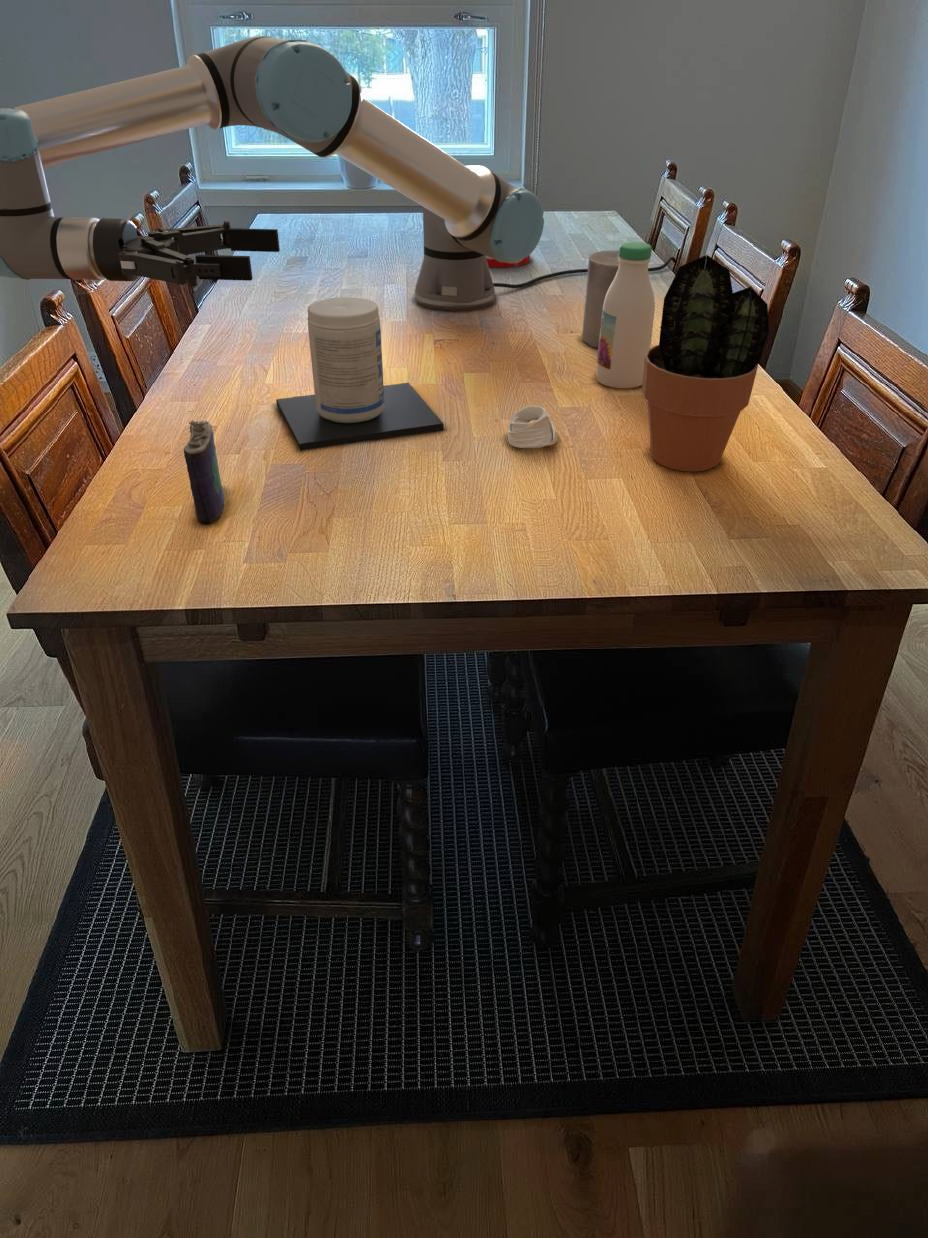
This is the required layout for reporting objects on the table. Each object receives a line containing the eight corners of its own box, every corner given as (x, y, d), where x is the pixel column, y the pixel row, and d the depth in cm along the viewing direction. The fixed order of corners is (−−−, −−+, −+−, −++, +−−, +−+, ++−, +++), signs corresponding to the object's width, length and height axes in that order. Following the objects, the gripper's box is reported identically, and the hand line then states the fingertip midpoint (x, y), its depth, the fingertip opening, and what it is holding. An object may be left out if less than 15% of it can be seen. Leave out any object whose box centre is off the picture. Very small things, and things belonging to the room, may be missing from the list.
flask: (202, 488, 111) (188, 405, 105) (227, 487, 111) (214, 404, 105) (195, 526, 104) (179, 439, 97) (221, 525, 104) (207, 437, 98)
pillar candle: (645, 336, 158) (656, 245, 150) (628, 353, 151) (639, 259, 142) (591, 328, 162) (599, 238, 153) (573, 345, 154) (580, 252, 146)
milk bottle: (649, 375, 143) (667, 240, 132) (640, 392, 137) (658, 253, 126) (601, 368, 145) (614, 236, 134) (590, 385, 139) (603, 248, 128)
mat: (408, 388, 138) (408, 382, 137) (443, 430, 126) (443, 423, 125) (276, 405, 132) (275, 399, 132) (299, 450, 120) (299, 443, 119)
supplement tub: (397, 416, 127) (393, 309, 118) (335, 431, 123) (327, 321, 114) (363, 393, 133) (358, 290, 125) (304, 407, 129) (294, 301, 121)
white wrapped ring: (562, 458, 121) (568, 425, 118) (512, 457, 119) (518, 423, 116) (547, 429, 127) (553, 397, 124) (500, 428, 125) (505, 395, 122)
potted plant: (676, 489, 112) (709, 279, 97) (611, 447, 122) (633, 250, 107) (761, 467, 117) (805, 264, 103) (693, 428, 127) (724, 238, 112)
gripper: (144, 254, 130) (290, 258, 129) (68, 308, 110) (241, 313, 109) (133, 197, 126) (285, 201, 124) (52, 243, 106) (232, 247, 104)
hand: (265, 253), depth 117 cm, fingers open, 13 cm apart
